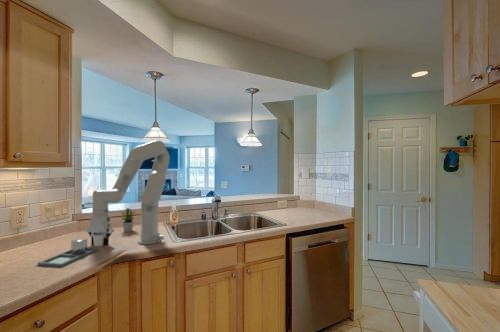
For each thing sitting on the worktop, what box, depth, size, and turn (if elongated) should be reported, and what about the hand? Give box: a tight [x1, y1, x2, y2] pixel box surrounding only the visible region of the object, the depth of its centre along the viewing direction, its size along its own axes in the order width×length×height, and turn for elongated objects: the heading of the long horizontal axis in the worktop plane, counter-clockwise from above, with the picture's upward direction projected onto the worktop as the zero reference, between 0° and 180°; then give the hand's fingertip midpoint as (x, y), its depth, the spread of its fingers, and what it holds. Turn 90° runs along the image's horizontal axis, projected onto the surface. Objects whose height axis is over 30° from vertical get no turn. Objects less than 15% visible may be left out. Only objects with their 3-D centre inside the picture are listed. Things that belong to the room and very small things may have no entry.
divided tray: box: [34, 246, 101, 269], centre depth 121 cm, size 14×24×2 cm, turn 173°
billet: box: [70, 238, 88, 255], centre depth 126 cm, size 7×7×6 cm
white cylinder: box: [93, 233, 107, 247], centre depth 140 cm, size 7×7×7 cm
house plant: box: [117, 207, 138, 233], centre depth 175 cm, size 14×14×16 cm
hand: (100, 244), depth 140 cm, fingers closed on white cylinder, 6 cm apart
